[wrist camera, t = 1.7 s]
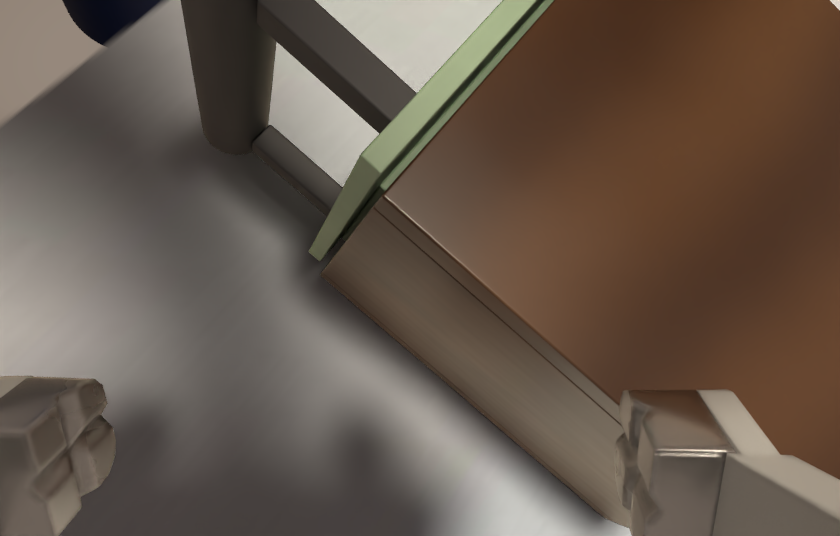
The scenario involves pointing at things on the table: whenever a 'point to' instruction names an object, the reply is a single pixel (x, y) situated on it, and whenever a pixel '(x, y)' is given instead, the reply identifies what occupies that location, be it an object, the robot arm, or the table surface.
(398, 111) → the green drawer
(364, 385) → the table surface
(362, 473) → the table surface
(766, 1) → the wooden drawer cabinet
